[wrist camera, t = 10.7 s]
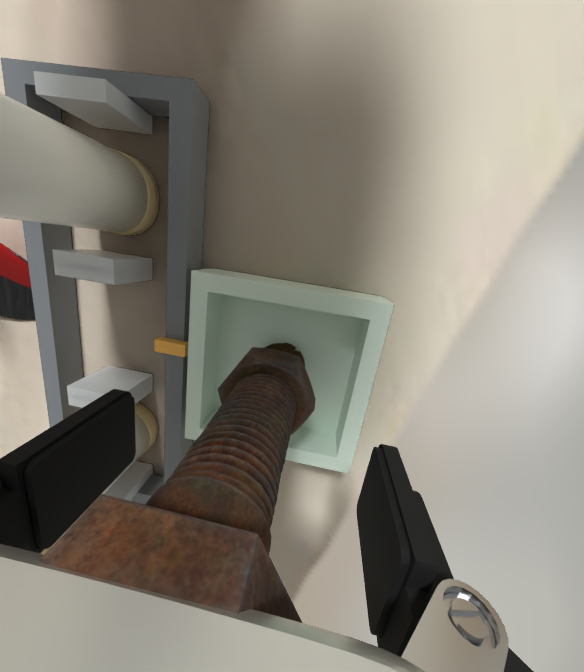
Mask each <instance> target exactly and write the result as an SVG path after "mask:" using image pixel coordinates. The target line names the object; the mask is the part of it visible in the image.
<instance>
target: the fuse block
mask: <svg viewBox="0 0 584 672" xmlns="http://www.w3.org/2000/svg"><path fill="white" fill-rule="evenodd" d="M1 63H2V71H3V79H4V86H5V94H6V96H8V97H10V98H12V99H14V100H16V101H18V102H20V103H22V104H24V105H26V106H28V107H30V108H32V109H34V110H36V111H38V112H40V113H42V114H44V115H46V116H48V117H50V118H52V119H54V120H56V121H58V122H60V123H62V120H61V108H62V109H64V110H65V111H67V112H69V113H71V114H73V115H74V116H76V117H78V118H80V119H82V120H84V121H85V122H87V123H89V124H91V125H93V126H94V127H98V128H106V129H114V130H121V131H129V132H137V133H144V134H152V116H151V115H153V116H161V117H169V151H168V225H167V298H166V338H164V337H158V338H156V339H154V351H155V352H160V353H165V354H166V372H165V445H164V476H161V475H157V474H153V465H152V464H148V463H143V462H139V461H135V462H134V463H133V464H132V465H131V466H130V467H129V468H128V469H127V470H126V471H125V472H124V473H123V474H122V476H121V477H120V478H119V479H118V480H117V481H116V482H115V483H114V484H113V485H112V486H111V487H110V488H109V489H108V490H107V491H106V493H105V494H104V495H108V496H112V497H116V498H120V499H124V500H128V501H133V502H138V503H142V504H146V503H147V501H148V500H149V499H150V497H151V496H152V495H153V493H154V492H155V491H156V490H157V489H158V488H159V487H160V486H162V485H163V484H165V482H166V481H167V479H168V478H169V477H170V476H171V475H172V474H173V472H174V470H175V469H176V468H177V467H178V464H179V463H180V462H181V461H182V459H183V458H184V457H185V455H186V454H187V452H188V451H189V450H190V448H191V446H192V445H193V440H192V439H187V438H185V417H186V391H187V366H188V341H189V316H190V290H191V270H200V269H201V265H202V245H203V226H204V206H205V186H206V166H207V146H208V126H209V106H210V101H209V100H208V98H207V97H206V96H205V94H204V93H203V92H202V91H201V89H200V88H199V87H198V85H197V84H196V83H195V81H194V80H193V79H186V78H177V77H169V76H160V75H151V74H142V73H133V72H124V71H115V70H106V69H97V68H89V67H80V66H71V65H62V64H53V63H44V62H35V61H26V60H17V59H9V58H1ZM22 221H23V220H22ZM23 229H24V236H25V244H26V251H27V259H28V266H29V274H30V281H31V289H32V296H33V304H34V311H35V319H36V326H37V334H38V341H39V349H40V356H41V364H42V371H43V379H44V386H45V394H46V401H47V409H48V416H49V424H50V428H51V427H52V426H54V425H56V424H57V423H59V422H60V421H62V420H64V419H65V418H67V417H69V416H70V415H72V414H73V413H75V412H77V411H78V410H80V409H81V408H83V407H85V406H86V405H88V404H90V403H91V402H93V401H94V400H96V399H98V398H99V397H101V396H102V395H104V394H106V393H107V392H109V391H111V390H113V389H119V390H123V391H128V392H130V393H131V395H132V396H133V397H134V400H135V404H136V403H137V402H139V401H140V400H141V399H142V398H144V397H145V396H146V395H148V394H149V393H150V392H152V391H153V374H149V373H144V372H139V371H134V370H129V369H124V368H119V367H114V366H109V365H108V366H106V367H104V368H102V369H100V370H98V371H96V372H94V373H92V374H90V375H88V376H86V377H84V378H83V367H82V355H81V343H80V332H79V320H78V308H77V296H76V285H75V278H77V279H82V280H88V281H94V282H99V283H105V284H110V285H119V284H126V283H134V282H141V281H148V280H153V266H152V259H151V258H145V257H139V256H133V255H127V254H121V253H115V252H109V251H103V250H73V249H72V238H71V226H63V225H55V224H47V223H39V222H31V221H23Z"/></svg>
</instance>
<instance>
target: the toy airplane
mask: <svg viewBox="0 0 584 672" xmlns="http://www.w3.org/2000/svg"><path fill="white" fill-rule="evenodd" d="M0 316H3V317H8V318H13V319H22V320H36V319H35V311H34V304H33V296H32V289H31V281H30V274H29V266H28V261H26V260H25V259H24V258H22V257H21V256H19V255H18V254H16V253H15V252H13V251H12V250H10V249H9V248H7V247H6V246H4V245H3V244H1V243H0Z"/></svg>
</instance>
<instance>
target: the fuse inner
mask: <svg viewBox="0 0 584 672" xmlns="http://www.w3.org/2000/svg"><path fill="white" fill-rule="evenodd" d="M159 205H160V198H159V191H158V187H157V184H156V181H155V179H154V177H153V175H152V174H151V172H150V171H149V170H148V168H147V167H146V166H145V165H144V164H143V163H141V162H140V161H139V160H137V159H135V158H133V157H131V156H129V155H127V154H125V153H123V152H122V151H119V150H116V149H111V148H109V147H107V146H105V145H103V144H101V143H99V142H97V141H95V140H93V139H91V138H89V137H88V136H86V135H84V134H82V133H80V132H78V131H76V130H74V129H72V128H70V127H68V126H66V125H64V124H62V123H60V122H58V121H56V120H54V119H52V118H50V117H48V116H46V115H44V114H42V113H40V112H38V111H36V110H34V109H32V108H30V107H28V106H26V105H24V104H22V103H20V102H18V101H16V100H14V99H12V98H10V97H8V96H6V95H4V94H2V93H0V218H6V219H15V220H23V221H31V222H39V223H47V224H55V225H63V226H72V227H80V228H88V229H96V230H104V231H108V232H111V233H115V234H123V235H137V234H140V233H143V232H144V231H146V230H147V229H148V228H150V227H151V225H152V224H153V223H154V221H155V219H156V217H157V215H158V211H159Z"/></svg>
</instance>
